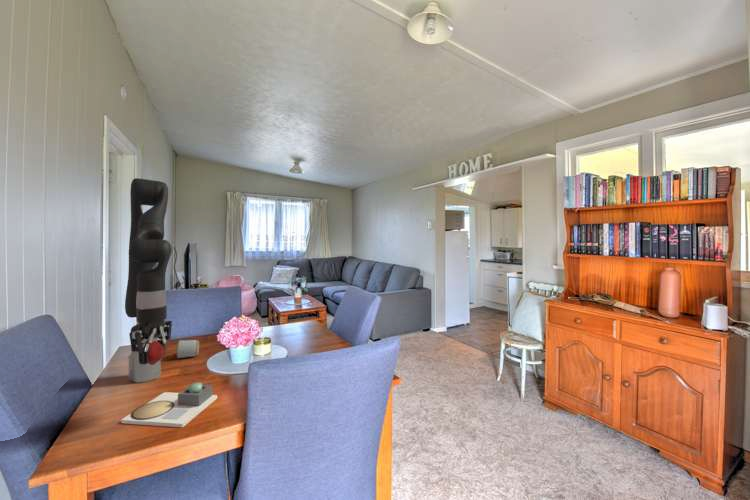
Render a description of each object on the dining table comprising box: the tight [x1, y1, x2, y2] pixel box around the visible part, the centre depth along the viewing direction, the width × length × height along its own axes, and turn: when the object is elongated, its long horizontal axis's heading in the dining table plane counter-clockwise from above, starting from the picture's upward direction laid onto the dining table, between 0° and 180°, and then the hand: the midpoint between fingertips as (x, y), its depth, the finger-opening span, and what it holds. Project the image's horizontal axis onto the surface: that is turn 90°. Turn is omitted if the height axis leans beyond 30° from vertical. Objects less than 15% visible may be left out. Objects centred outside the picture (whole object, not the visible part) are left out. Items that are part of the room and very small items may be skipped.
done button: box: [188, 381, 203, 393], centre depth 105 cm, size 4×4×3 cm
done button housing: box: [178, 384, 213, 406], centre depth 105 cm, size 7×7×4 cm
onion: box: [143, 339, 164, 365], centre depth 98 cm, size 6×6×8 cm
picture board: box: [120, 391, 218, 428], centre depth 101 cm, size 20×17×1 cm
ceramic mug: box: [176, 339, 200, 359], centre depth 147 cm, size 11×8×8 cm
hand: (152, 359), depth 98 cm, fingers closed on onion, 6 cm apart
